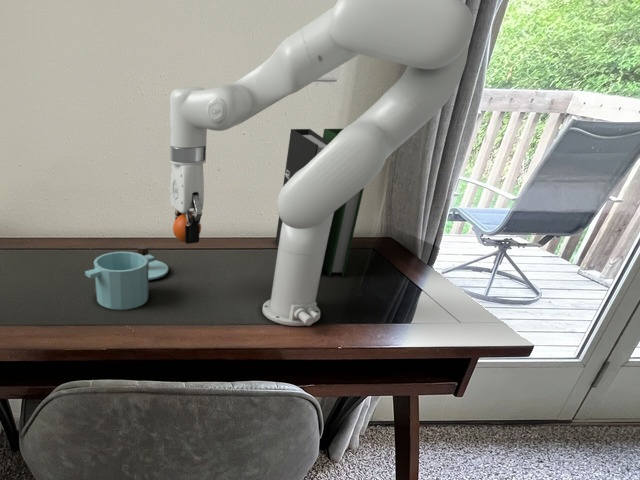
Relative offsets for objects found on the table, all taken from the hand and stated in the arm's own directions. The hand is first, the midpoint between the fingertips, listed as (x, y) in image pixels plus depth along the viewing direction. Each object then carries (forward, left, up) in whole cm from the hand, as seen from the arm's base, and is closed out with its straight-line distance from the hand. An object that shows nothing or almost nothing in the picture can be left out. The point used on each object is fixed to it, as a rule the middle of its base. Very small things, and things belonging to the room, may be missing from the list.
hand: (186, 237), depth 110 cm
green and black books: (+13, -42, -15) cm, 46 cm away
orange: (0, 0, -1) cm, 1 cm away
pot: (+2, +15, -14) cm, 21 cm away
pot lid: (+16, +6, -14) cm, 22 cm away
